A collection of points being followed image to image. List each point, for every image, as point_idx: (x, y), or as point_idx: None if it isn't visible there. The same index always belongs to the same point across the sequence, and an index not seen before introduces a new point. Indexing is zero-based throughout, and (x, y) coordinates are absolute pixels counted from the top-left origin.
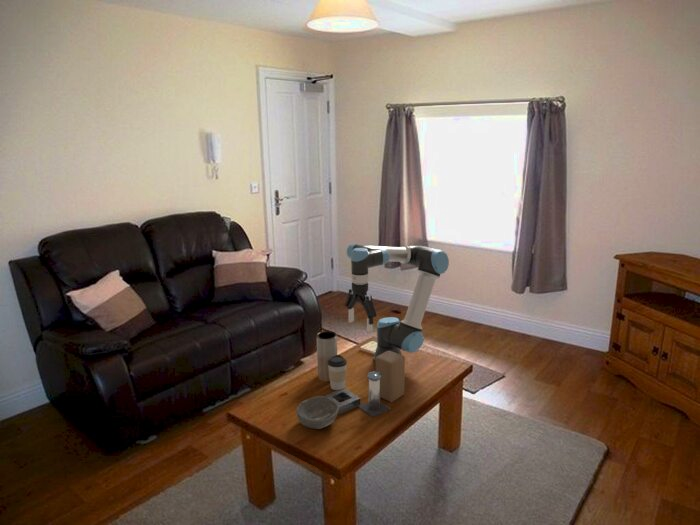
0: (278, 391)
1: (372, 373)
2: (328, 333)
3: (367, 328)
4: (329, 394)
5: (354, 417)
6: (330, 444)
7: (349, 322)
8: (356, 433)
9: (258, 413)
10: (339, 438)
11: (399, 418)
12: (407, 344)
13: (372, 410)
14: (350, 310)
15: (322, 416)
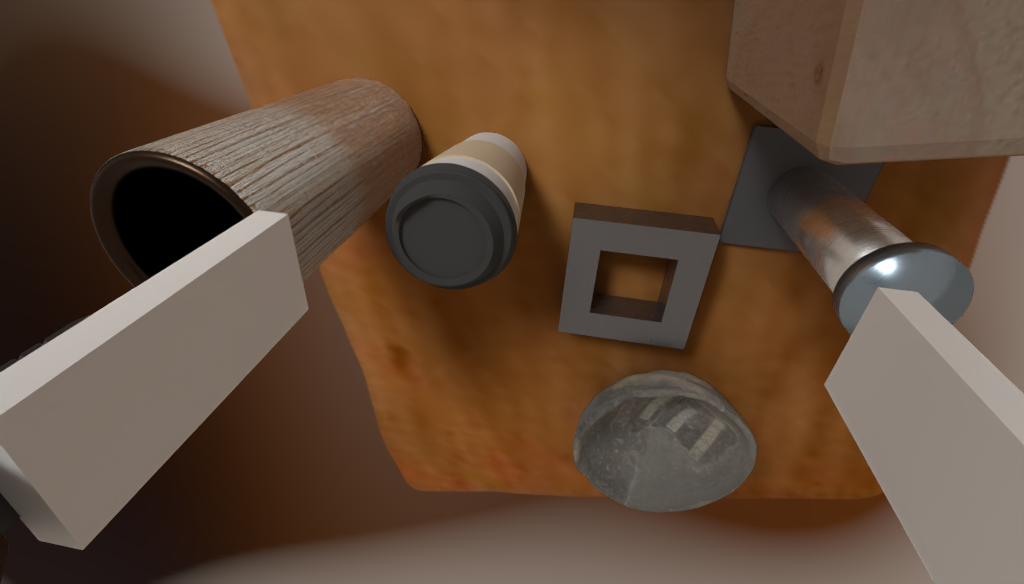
0: (368, 358)
1: None
2: (131, 181)
3: (866, 432)
4: (567, 306)
5: (752, 304)
6: (778, 451)
7: (304, 311)
8: (830, 370)
9: (457, 461)
10: (786, 419)
11: (989, 169)
12: None
13: None
14: (97, 492)
15: (655, 398)
